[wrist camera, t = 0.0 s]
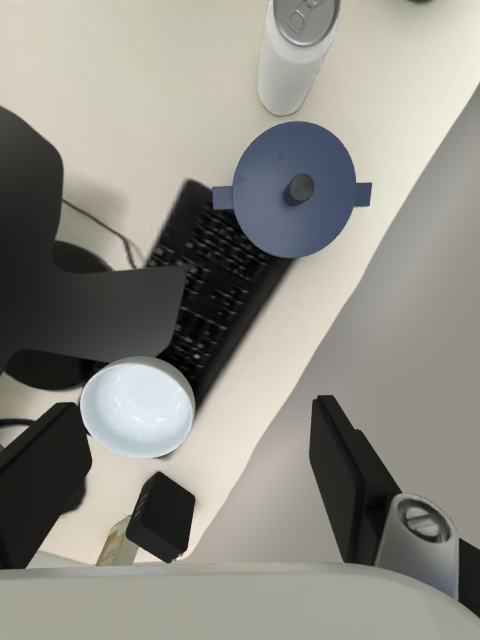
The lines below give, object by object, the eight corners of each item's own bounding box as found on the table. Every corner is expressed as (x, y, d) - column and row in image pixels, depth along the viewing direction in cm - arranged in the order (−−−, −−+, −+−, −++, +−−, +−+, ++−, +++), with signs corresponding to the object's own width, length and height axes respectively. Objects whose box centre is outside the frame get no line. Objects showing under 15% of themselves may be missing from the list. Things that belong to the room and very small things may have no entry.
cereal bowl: (200, 346, 43) (193, 366, 36) (199, 430, 48) (193, 461, 41) (97, 342, 42) (70, 361, 36) (107, 426, 47) (85, 457, 40)
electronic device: (157, 469, 50) (139, 523, 41) (196, 496, 52) (186, 553, 43) (144, 481, 51) (123, 537, 41) (182, 507, 53) (170, 566, 43)
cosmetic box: (131, 513, 53) (101, 589, 42) (146, 525, 54) (121, 602, 43) (110, 528, 55) (75, 606, 43) (125, 539, 56) (95, 618, 44)
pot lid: (230, 127, 27) (228, 104, 22) (358, 124, 27) (382, 100, 22) (234, 259, 31) (233, 261, 26) (346, 256, 31) (364, 258, 26)
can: (318, 81, 33) (362, -7, 21) (285, 129, 34) (310, 70, 23) (278, 42, 31) (302, -74, 20) (246, 93, 33) (252, 12, 21)
